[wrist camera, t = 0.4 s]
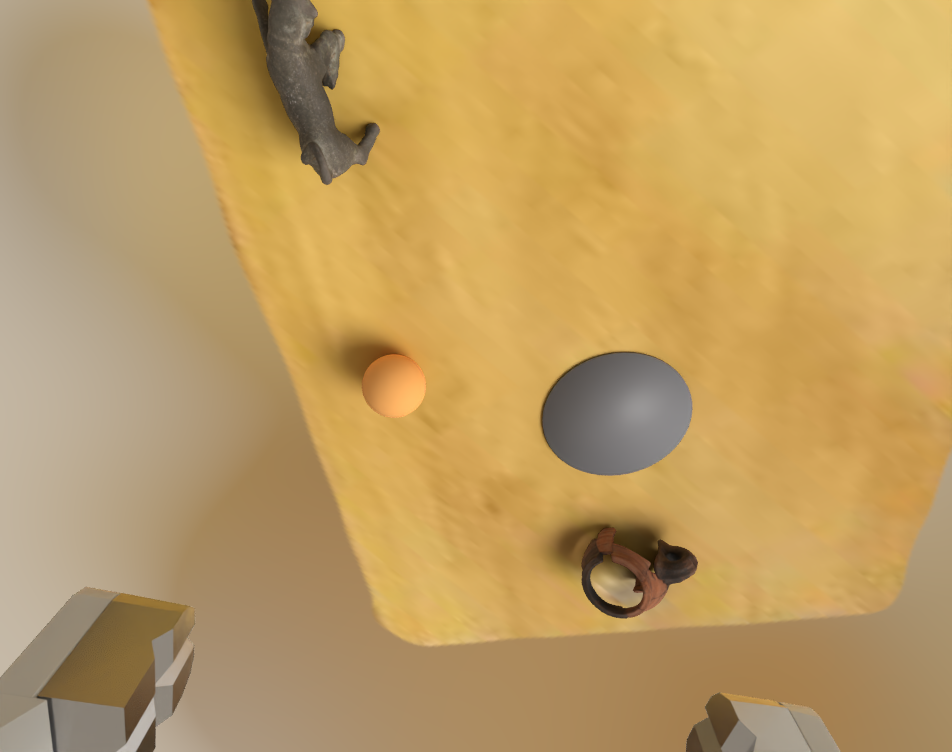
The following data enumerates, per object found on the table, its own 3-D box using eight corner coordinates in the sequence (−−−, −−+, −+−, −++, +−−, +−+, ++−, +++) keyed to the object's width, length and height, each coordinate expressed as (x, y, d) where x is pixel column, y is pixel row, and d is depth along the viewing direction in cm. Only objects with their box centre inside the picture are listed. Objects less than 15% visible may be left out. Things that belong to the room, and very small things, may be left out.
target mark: (569, 337, 48) (569, 337, 48) (717, 371, 50) (718, 371, 50) (525, 458, 55) (525, 460, 55) (656, 485, 57) (656, 487, 57)
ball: (373, 337, 49) (360, 367, 44) (434, 350, 49) (428, 382, 45) (364, 388, 52) (352, 422, 47) (422, 401, 52) (416, 435, 47)
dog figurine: (387, 157, 41) (369, 178, 35) (314, 173, 42) (284, 196, 36) (335, -37, 35) (302, -55, 29) (251, -15, 36) (201, -28, 30)
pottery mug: (619, 590, 66) (599, 635, 59) (582, 520, 66) (557, 557, 59) (718, 569, 59) (708, 617, 52) (676, 491, 59) (660, 529, 53)
